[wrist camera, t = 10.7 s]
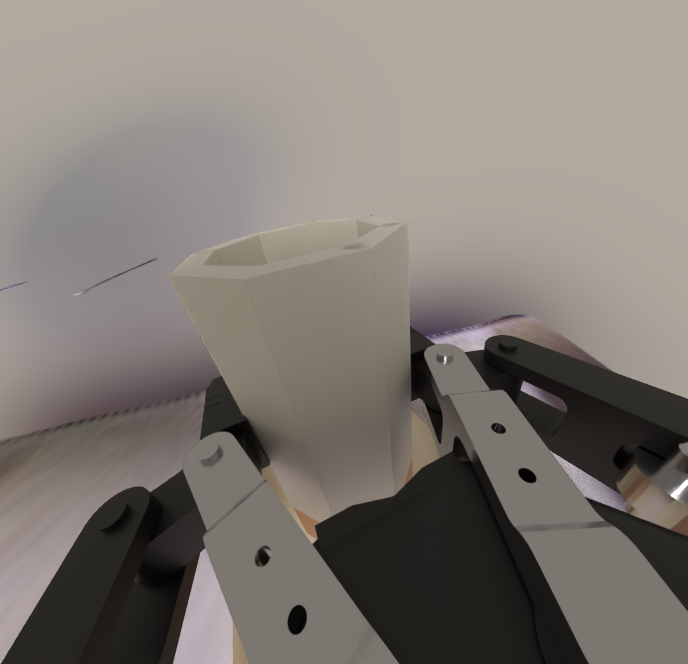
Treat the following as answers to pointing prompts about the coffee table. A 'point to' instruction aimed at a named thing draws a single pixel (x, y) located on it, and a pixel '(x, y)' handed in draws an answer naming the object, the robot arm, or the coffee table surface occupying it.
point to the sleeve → (314, 353)
